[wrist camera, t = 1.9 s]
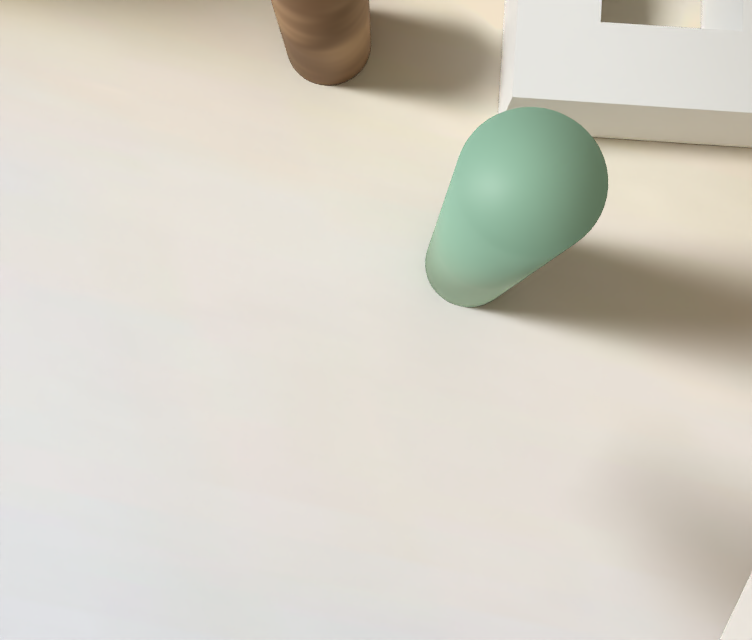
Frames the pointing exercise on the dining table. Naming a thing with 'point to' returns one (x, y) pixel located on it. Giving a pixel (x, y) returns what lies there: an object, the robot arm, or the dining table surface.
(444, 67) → the dining table surface
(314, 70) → the short pin
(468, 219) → the tall pin
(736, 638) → the robot arm
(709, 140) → the white square hole block
